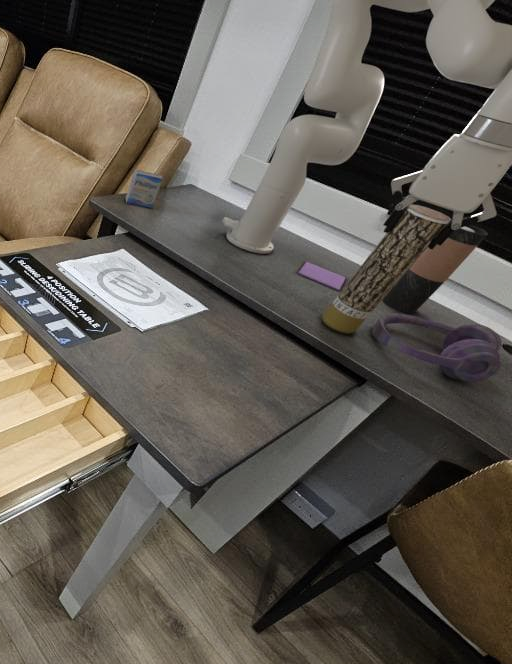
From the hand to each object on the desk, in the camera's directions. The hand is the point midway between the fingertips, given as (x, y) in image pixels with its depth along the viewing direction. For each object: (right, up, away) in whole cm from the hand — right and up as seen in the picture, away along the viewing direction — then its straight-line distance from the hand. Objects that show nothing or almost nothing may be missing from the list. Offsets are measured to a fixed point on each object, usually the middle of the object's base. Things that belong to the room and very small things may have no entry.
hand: (408, 238), depth 84 cm
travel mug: (+22, -8, +27) cm, 36 cm away
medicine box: (-34, +27, +53) cm, 68 cm away
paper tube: (-3, -15, +14) cm, 20 cm away
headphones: (+12, -21, +11) cm, 27 cm away
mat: (+7, +1, +33) cm, 34 cm away
